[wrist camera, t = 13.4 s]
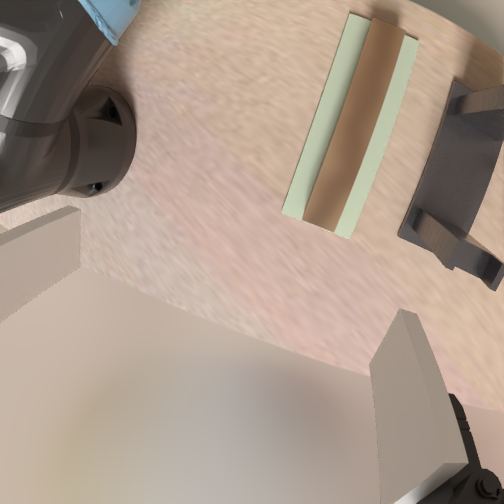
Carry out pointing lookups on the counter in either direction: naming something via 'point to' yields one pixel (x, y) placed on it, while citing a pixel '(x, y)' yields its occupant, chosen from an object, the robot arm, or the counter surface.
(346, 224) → the mat
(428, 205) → the rack
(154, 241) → the counter surface
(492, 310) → the counter surface
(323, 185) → the rail
